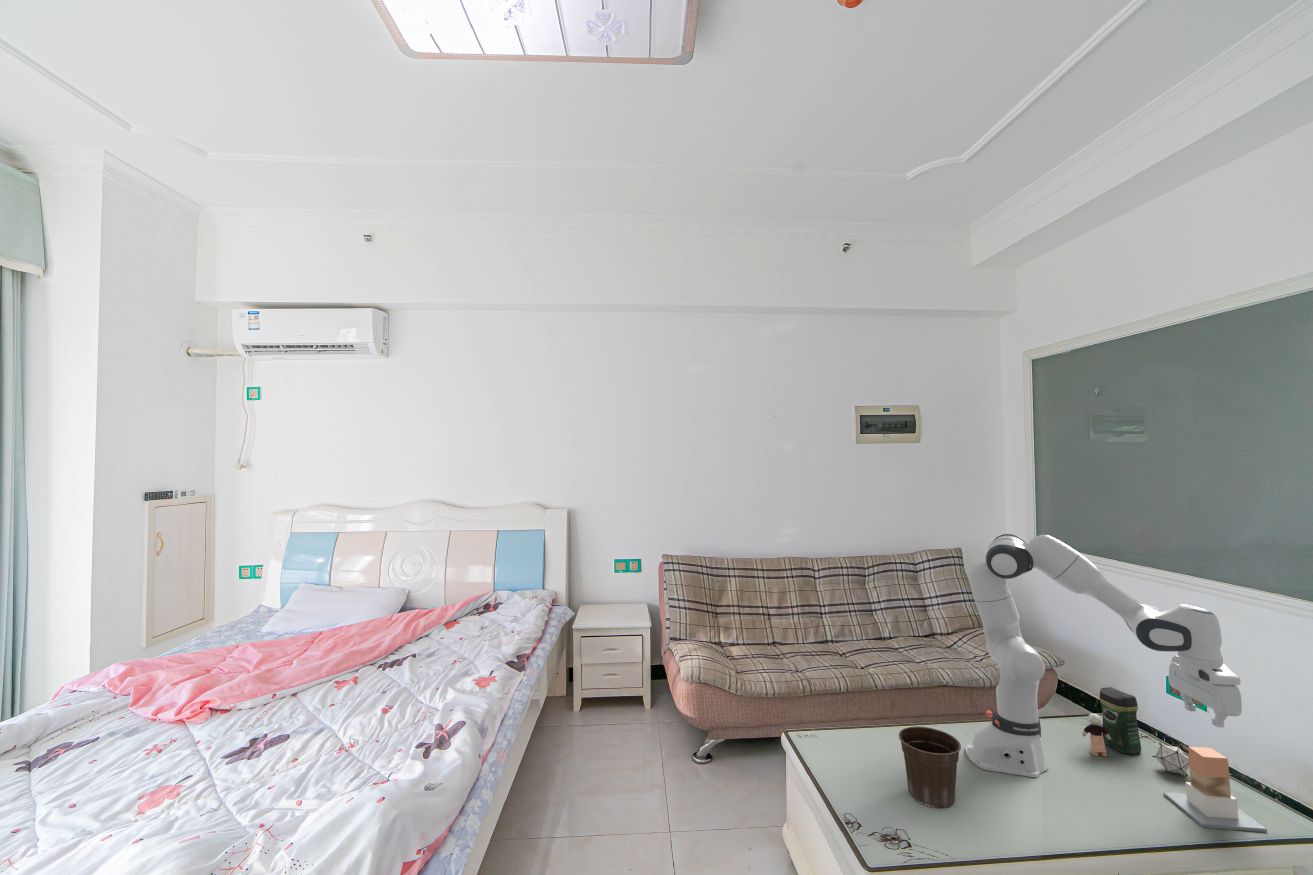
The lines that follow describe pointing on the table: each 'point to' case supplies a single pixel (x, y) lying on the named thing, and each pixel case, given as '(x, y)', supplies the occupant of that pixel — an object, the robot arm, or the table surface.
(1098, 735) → the grandmother figurine
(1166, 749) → the game die
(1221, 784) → the oak brick
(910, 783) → the plant pot
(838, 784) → the table surface
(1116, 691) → the coffee jar
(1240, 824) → the baseplate
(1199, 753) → the terracotta brick
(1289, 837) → the table surface
